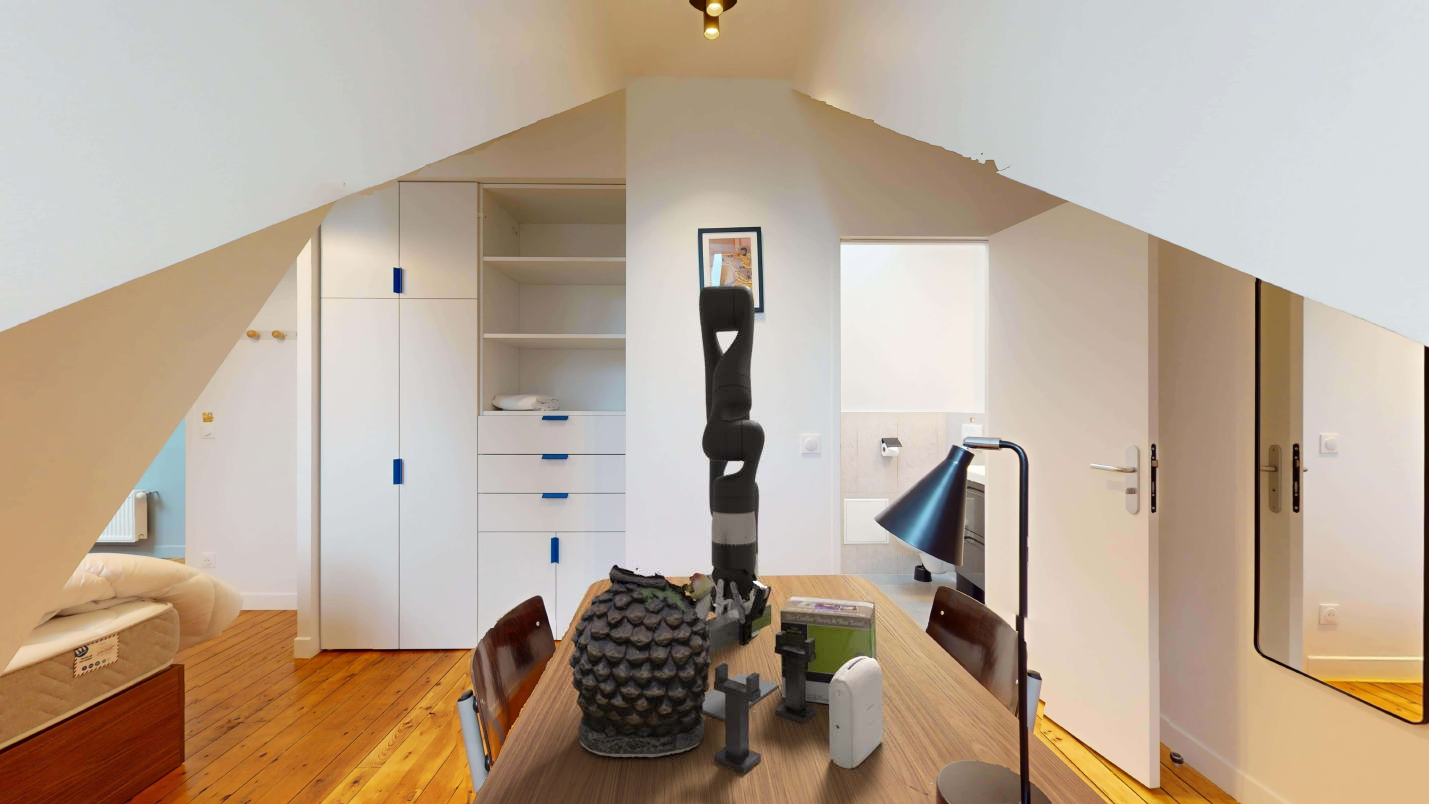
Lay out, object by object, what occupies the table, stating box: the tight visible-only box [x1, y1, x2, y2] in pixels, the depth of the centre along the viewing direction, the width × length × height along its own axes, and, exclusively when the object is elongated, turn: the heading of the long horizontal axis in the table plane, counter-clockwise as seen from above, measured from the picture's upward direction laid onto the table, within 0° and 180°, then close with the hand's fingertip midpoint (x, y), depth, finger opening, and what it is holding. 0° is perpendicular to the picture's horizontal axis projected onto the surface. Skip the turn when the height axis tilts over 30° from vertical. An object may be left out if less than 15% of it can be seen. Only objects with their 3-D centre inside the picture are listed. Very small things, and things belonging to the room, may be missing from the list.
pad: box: [701, 672, 780, 722], centre depth 98 cm, size 15×8×1 cm, turn 143°
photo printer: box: [828, 656, 884, 769], centre depth 82 cm, size 10×4×12 cm, turn 140°
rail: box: [705, 602, 772, 655], centre depth 98 cm, size 18×4×4 cm, turn 142°
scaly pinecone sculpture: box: [568, 564, 713, 758], centre depth 85 cm, size 21×15×25 cm
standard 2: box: [774, 630, 817, 725], centre depth 92 cm, size 4×6×12 cm, turn 53°
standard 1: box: [713, 662, 762, 775], centre depth 79 cm, size 4×6×12 cm, turn 53°
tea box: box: [779, 594, 878, 705], centre depth 100 cm, size 15×10×15 cm, turn 71°
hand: (734, 641), depth 98 cm, fingers closed on rail, 3 cm apart
